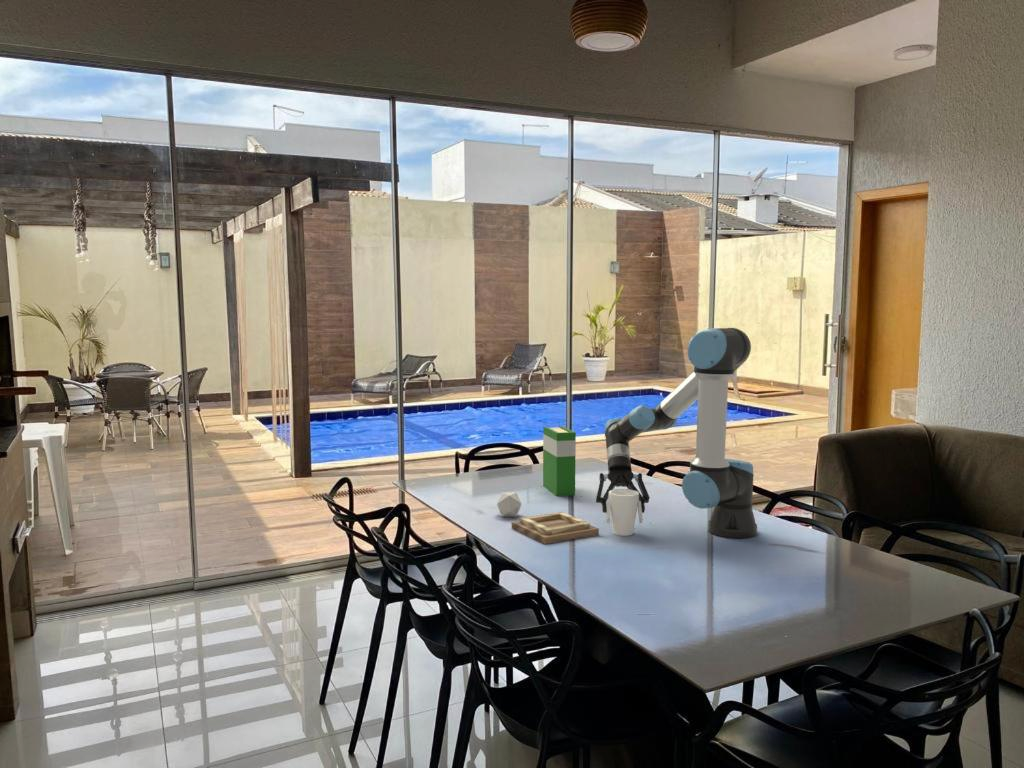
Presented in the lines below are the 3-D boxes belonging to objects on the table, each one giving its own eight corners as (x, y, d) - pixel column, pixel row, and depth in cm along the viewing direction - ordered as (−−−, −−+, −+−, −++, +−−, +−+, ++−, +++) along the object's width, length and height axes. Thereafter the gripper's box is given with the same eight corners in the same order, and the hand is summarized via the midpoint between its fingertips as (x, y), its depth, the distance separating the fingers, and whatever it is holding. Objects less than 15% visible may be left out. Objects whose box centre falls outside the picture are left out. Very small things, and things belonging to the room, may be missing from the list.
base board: (598, 534, 251) (598, 523, 251) (544, 544, 241) (544, 532, 241) (563, 519, 268) (563, 509, 268) (511, 528, 258) (511, 517, 258)
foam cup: (637, 529, 257) (638, 489, 256) (639, 537, 248) (639, 496, 247) (607, 528, 258) (608, 488, 257) (608, 536, 249) (608, 495, 248)
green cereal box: (543, 486, 319) (543, 426, 316) (560, 485, 320) (561, 425, 318) (556, 496, 302) (556, 433, 299) (575, 495, 303) (575, 432, 301)
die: (512, 522, 268) (527, 497, 270) (490, 508, 269) (505, 484, 271) (512, 524, 276) (526, 500, 278) (491, 511, 277) (505, 487, 279)
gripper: (651, 467, 267) (658, 527, 252) (584, 467, 267) (588, 526, 252) (654, 454, 261) (661, 515, 247) (586, 454, 261) (590, 514, 247)
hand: (624, 521), depth 250 cm, fingers closed on foam cup, 9 cm apart
